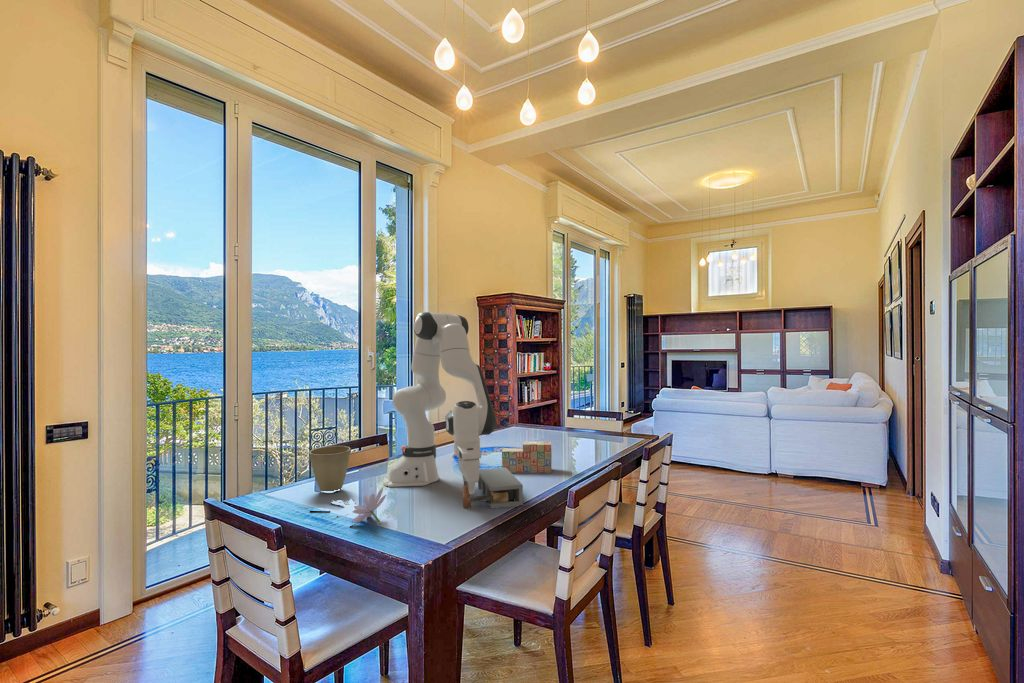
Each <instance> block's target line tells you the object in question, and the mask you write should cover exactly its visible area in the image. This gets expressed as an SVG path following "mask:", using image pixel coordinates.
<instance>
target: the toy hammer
mask: <svg viewBox="0 0 1024 683" xmlns="http://www.w3.org/2000/svg"><path fill="white" fill-rule="evenodd" d="M471 495H472V494H469V492H468V486H464V485H462V508H463V507H464V509H470V508H471V503H473V502H481V501H486V500H491V502H492V503H500V502H509V500H508V492H507V490H499V491H491V495H487V496H486V495H479V496H478V495H477V496H471ZM469 507H470V508H469Z"/></svg>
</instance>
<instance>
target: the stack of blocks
mask: <svg viewBox="0 0 1024 683" xmlns="http://www.w3.org/2000/svg"><path fill="white" fill-rule="evenodd" d="M552 454H553V453H552V441H544V440H543V441H541V440H540V441H539V440H538V441H523V442H522V448H516V447H515V448H505V447H504V448H502V450H501V464H502V465H501V468H507V469H508V470H509V471H510V472H511V473H512V474H513V473H519V474H520V473H522V474H523V473H525V474H527V473H529V474H530V473H533V474H534V473H535V474H536V473H537V474H538V473H539V474H540V473H542V474H545V473H546V474H548V473H549V474H550V473H552V471H553V470H552V456H553V455H552Z"/></svg>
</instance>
